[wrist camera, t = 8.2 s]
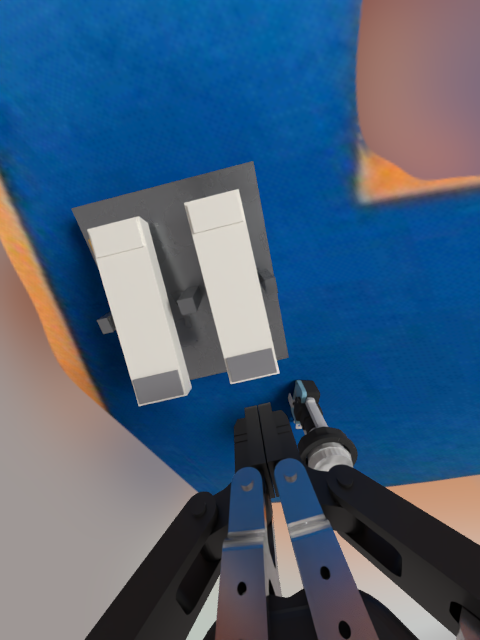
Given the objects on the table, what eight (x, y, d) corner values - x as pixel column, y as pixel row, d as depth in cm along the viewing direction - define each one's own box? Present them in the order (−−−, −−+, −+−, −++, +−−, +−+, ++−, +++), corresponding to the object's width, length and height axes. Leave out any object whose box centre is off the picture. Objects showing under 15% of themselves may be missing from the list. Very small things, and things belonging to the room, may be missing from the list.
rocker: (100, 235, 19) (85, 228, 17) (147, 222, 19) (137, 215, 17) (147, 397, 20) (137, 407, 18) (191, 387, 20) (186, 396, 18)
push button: (314, 420, 31) (351, 500, 22) (275, 419, 31) (295, 500, 21) (324, 377, 29) (370, 447, 19) (282, 376, 28) (308, 446, 19)
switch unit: (87, 211, 21) (26, 203, 15) (250, 169, 21) (260, 141, 14) (157, 375, 28) (135, 417, 21) (283, 346, 27) (299, 381, 21)
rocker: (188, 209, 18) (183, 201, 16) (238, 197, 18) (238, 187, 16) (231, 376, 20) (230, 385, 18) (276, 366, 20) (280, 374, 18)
